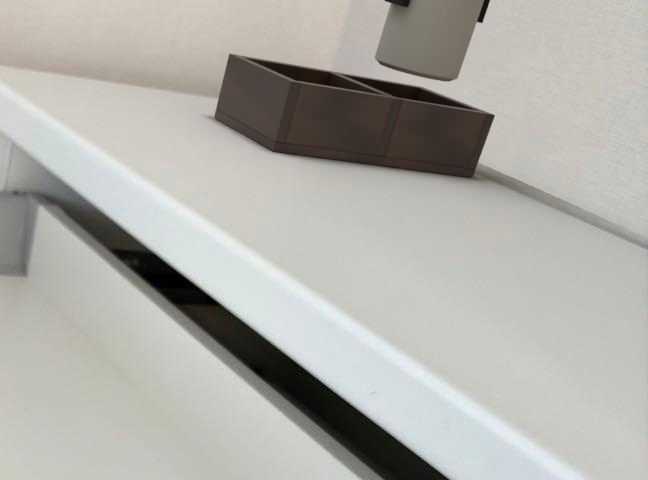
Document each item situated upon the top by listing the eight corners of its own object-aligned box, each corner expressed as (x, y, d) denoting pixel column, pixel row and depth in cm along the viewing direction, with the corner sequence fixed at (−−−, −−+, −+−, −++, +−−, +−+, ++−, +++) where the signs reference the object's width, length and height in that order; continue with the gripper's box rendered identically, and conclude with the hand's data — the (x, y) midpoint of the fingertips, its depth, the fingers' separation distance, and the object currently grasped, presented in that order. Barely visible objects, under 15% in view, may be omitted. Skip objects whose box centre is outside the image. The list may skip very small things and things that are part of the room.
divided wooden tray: (402, 145, 114) (421, 86, 111) (472, 177, 105) (495, 115, 102) (213, 118, 105) (228, 53, 102) (272, 151, 96) (291, 81, 93)
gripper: (591, -257, 96) (494, 23, 108) (403, -326, 88) (319, -15, 99) (655, -258, 91) (545, 37, 102) (460, -332, 82) (363, -1, 93)
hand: (433, 11), depth 101 cm, fingers closed on travel mug, 8 cm apart
